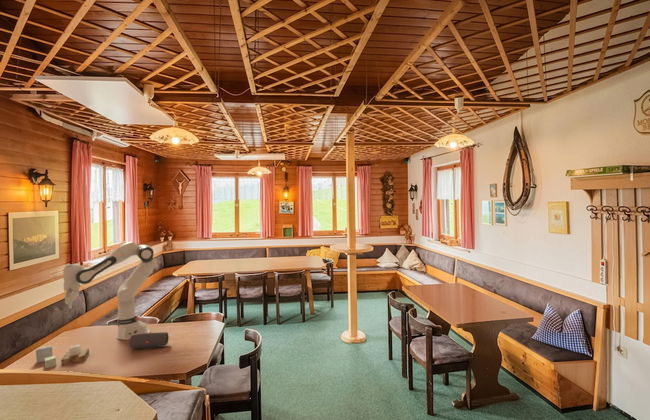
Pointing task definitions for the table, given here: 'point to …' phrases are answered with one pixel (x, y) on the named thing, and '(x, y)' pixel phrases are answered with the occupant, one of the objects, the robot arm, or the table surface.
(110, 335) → the table surface
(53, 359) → the sage painted cube
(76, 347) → the cream painted cube
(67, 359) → the walnut block
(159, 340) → the bluetooth speaker
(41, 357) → the medicine box
